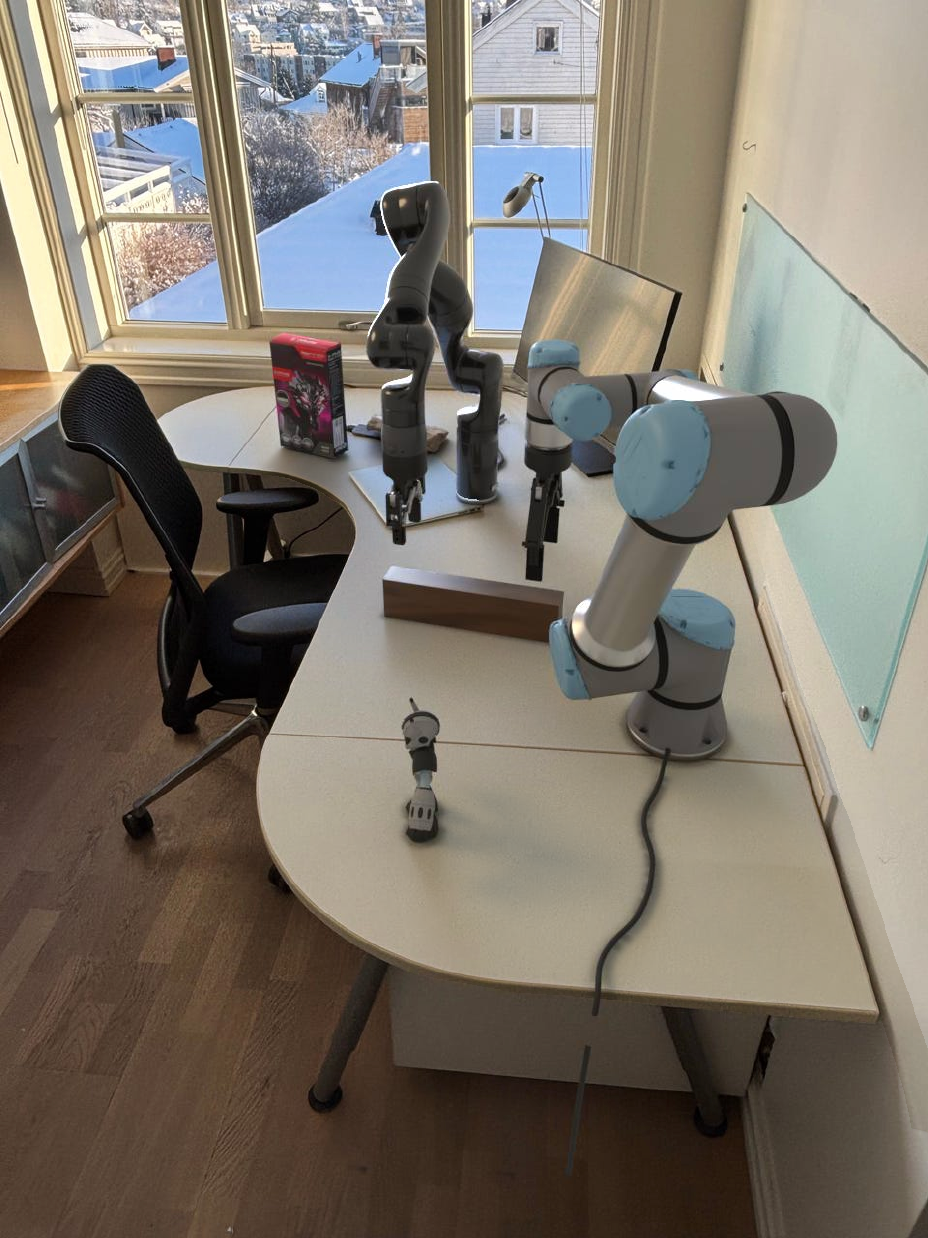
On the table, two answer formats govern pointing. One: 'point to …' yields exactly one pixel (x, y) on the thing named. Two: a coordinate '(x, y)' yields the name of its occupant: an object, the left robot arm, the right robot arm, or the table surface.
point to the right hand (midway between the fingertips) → (541, 560)
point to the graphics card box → (309, 394)
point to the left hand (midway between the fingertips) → (407, 532)
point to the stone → (433, 432)
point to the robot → (422, 772)
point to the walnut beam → (471, 603)
